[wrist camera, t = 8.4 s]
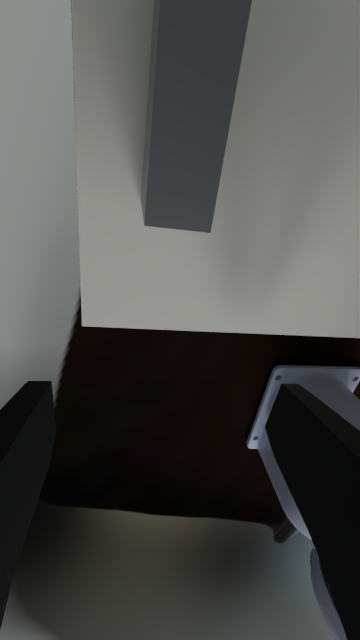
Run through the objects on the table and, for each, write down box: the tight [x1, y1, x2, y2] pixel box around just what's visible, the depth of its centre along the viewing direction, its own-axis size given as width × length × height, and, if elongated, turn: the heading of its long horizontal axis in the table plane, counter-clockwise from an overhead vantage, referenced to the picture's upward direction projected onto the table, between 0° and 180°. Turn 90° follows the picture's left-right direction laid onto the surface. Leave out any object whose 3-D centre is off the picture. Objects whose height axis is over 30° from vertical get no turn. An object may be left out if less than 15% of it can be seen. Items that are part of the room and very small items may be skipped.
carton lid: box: [71, 0, 360, 338], centre depth 8 cm, size 14×14×4 cm
